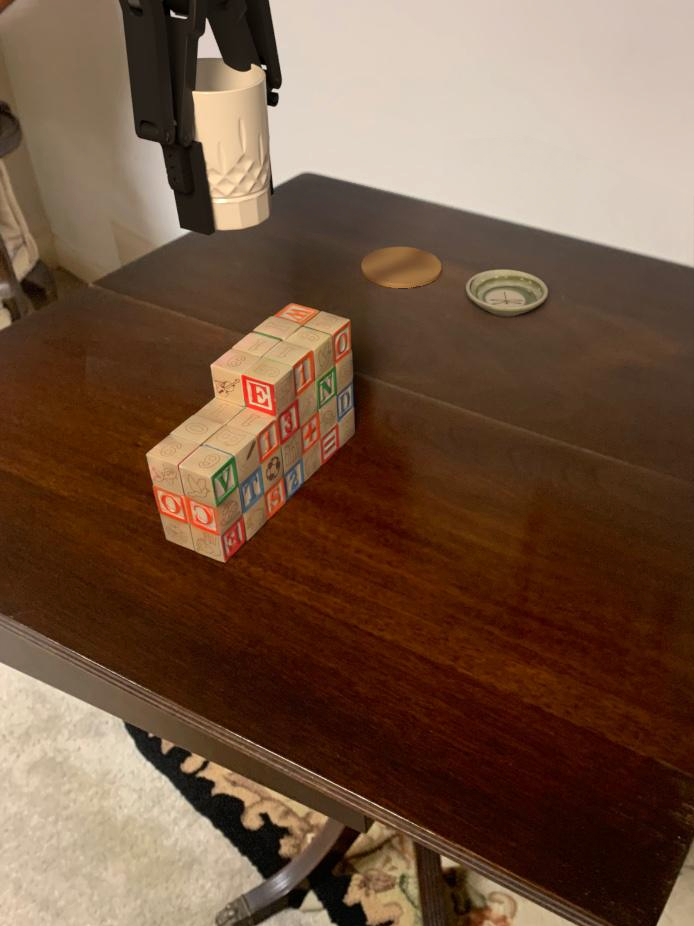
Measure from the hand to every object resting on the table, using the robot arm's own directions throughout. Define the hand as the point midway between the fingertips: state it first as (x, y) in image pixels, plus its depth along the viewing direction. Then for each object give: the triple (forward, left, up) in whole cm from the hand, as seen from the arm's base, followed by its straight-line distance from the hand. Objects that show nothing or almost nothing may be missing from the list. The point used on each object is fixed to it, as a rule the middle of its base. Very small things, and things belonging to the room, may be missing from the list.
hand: (228, 209), depth 71 cm
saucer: (+11, +35, -22) cm, 42 cm away
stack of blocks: (+5, -6, -21) cm, 23 cm away
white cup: (0, 0, 0) cm, 0 cm away
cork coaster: (-4, +37, -21) cm, 42 cm away
